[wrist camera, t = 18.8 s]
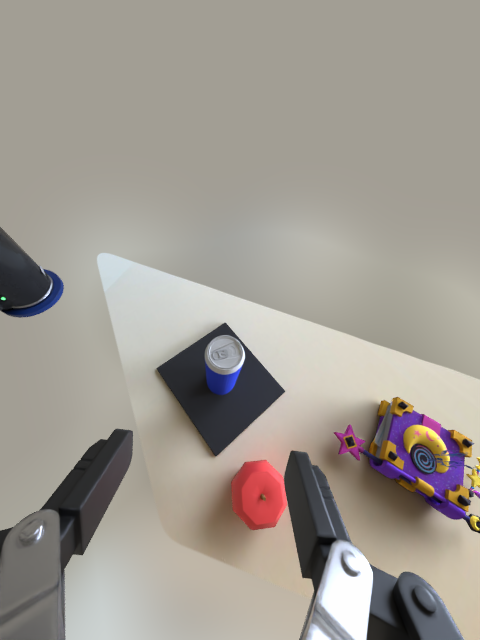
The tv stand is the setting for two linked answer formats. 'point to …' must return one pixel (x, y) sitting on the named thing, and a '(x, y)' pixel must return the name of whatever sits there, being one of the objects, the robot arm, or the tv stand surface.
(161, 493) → the tv stand surface
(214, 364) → the beverage can
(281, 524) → the tv stand surface
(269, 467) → the apple
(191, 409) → the mat
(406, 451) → the book
